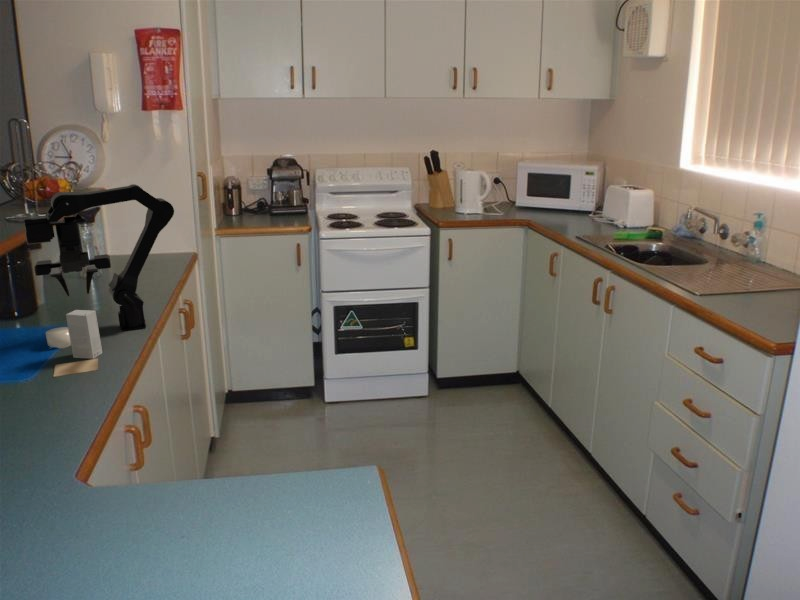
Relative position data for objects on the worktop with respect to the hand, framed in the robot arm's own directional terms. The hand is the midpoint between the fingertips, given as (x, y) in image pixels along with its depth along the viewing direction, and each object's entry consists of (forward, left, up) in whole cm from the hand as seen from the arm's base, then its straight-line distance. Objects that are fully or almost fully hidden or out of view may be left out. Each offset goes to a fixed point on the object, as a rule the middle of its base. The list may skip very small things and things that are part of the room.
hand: (78, 294), depth 193 cm
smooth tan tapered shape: (+1, +24, -12) cm, 27 cm away
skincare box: (-1, +17, -12) cm, 21 cm away
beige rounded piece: (+6, +5, -12) cm, 14 cm away
